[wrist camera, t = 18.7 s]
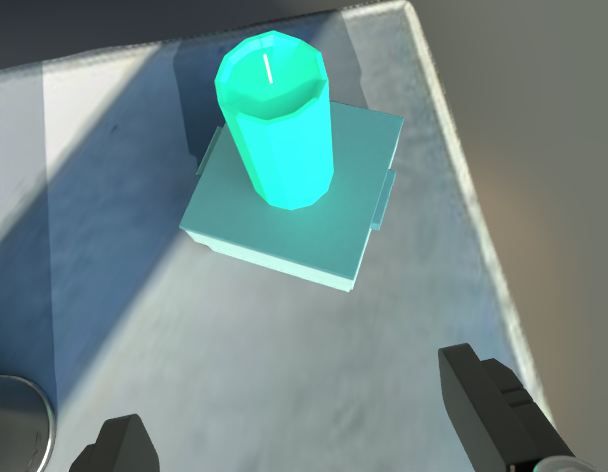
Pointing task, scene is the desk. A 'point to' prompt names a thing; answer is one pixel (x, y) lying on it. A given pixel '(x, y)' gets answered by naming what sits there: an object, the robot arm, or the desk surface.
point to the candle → (279, 117)
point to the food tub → (305, 220)
